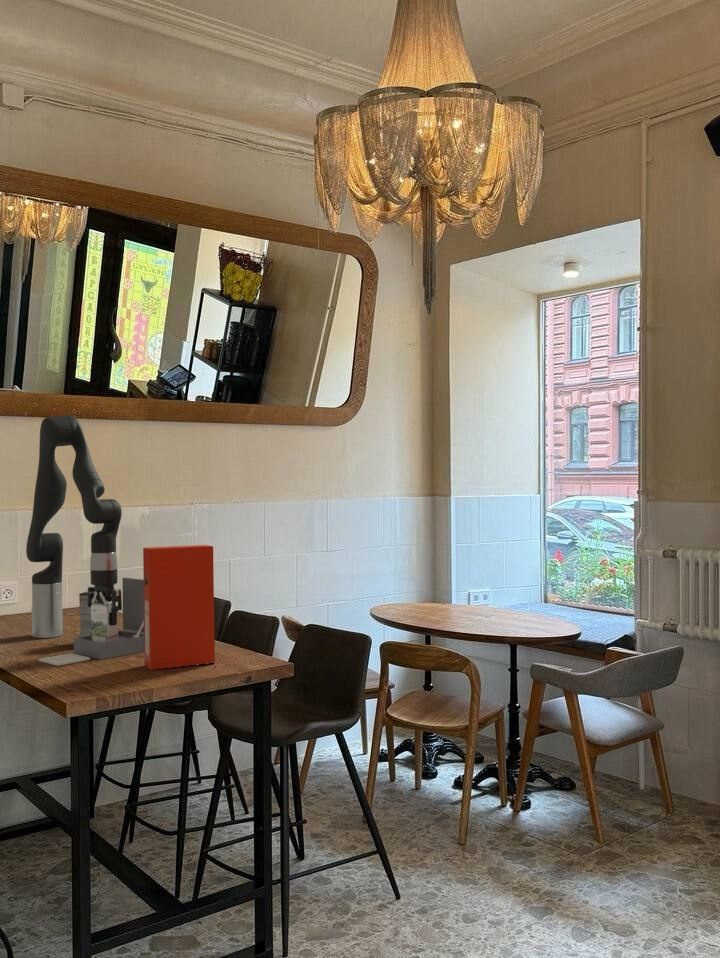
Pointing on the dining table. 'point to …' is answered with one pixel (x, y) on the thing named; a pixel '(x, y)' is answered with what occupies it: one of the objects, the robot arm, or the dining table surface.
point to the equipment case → (132, 627)
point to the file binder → (178, 606)
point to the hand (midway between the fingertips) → (104, 623)
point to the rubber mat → (64, 659)
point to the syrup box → (102, 624)
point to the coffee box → (85, 615)
